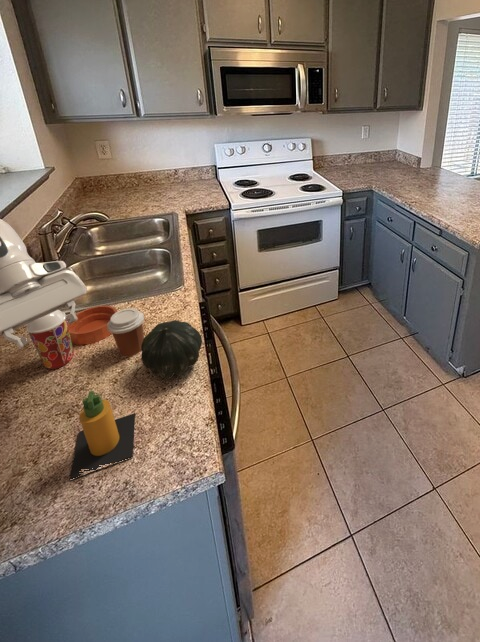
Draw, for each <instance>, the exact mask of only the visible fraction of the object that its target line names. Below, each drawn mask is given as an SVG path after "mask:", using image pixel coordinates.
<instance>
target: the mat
mask: <svg viewBox="0 0 480 642" xmlns="http://www.w3.org/2000/svg"><path fill="white" fill-rule="evenodd" d="M114 419H115V423H116V426H117V430H118V433H119V442H118V444H117V445H116V446H115V448H114V449H112V450H111V451H110V452H108V453H106V454H104V455H101V456H95V455H93V454H92V453H91V452H90V449H89V446H88V443H87V440H86V437H85V434H84V431H83V429H82V430H79V431H78V436H77V440H76V445H75V449H74V450H75V451H74V455H73V459H72V463H71V469H70V474H69V479H68V480H69V481H70V479H73V478H76V477H78V476H80V475H81V474H79V473H83V472H79V471H81V469H89V470H84V471H90V470H96V469H97V468H98V467H101V466H99V465H105V464H110V463H115V462H119V461H122V460H125V459H128V458H131V457H133V458H134V444H135V442H134V441H135V426H136V425H135V423H136V413H134V412H133V413H131V414H128V415H125V416H122V417H118V418H114ZM131 459H132V458H131ZM128 460H129V459H128ZM125 461H126V460H125ZM92 468H93V469H92Z"/></svg>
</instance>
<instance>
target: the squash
mask: <svg viewBox="0 0 480 642" xmlns="http://www.w3.org/2000/svg"><path fill="white" fill-rule="evenodd" d="M202 345H203V339H202V335H201V333H200V332H199V330H197V329H196V328H195V327H194V326H192V325H191V324H190V323H189V322H187V321H180V320H177V319H174V320H170V321H163V322H159V323H158V324H157V325H155V326H154V327H153V328H152V330H151V331H150V332H148V333H147V334H146V335H144V340H143V342H142V345H141V350H142V351H141V361H142V364H143V366H144V367H145V369H148V370H149V372H150V373H151V374H153V375H159V376H161V378H162V379H165V380H169V379H170V378H172V377H173V376H174V375H175V376H182V375H183V374H185V372H186V371H187V369H188V368H189V367H190V368H191V367H192V366H194V365H195V364H196V363H197V362H198V360H199V358H200V350H201V348H202Z"/></svg>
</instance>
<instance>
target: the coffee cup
mask: <svg viewBox="0 0 480 642" xmlns="http://www.w3.org/2000/svg"><path fill="white" fill-rule="evenodd" d="M144 321H145V315H144V313H143V312H142V311H141V310H138V309H137V308H134V307H127V308H123V309H120V310H117V312H116V313H115V314H113V315H112V317H111V318H110V321H109V322H108V324H107V329H108V331H109V332H111V333H112V334H111V335H112V337H113V340H114V342H115V345H116V347H117V349H118V352H119V355H121V357H124V358H129V357H133V356H136V355H138V354H140V353H142V350H141V345H142V342H143V340H144V338H145V334H144V327H143V326H144V325H143V322H144Z"/></svg>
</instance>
